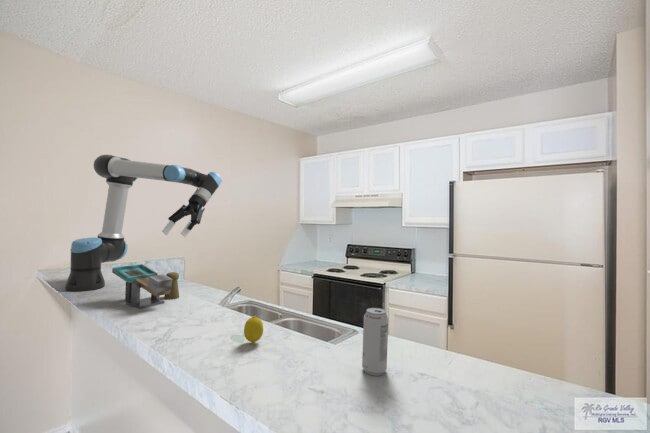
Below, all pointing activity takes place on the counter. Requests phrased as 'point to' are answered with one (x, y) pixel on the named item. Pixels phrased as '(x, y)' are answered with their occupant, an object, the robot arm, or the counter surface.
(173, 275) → the olive chess piece
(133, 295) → the beam stand
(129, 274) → the balance beam
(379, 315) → the energy drink can
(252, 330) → the lemon
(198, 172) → the robot arm
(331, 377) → the counter surface
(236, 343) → the counter surface
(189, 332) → the counter surface
